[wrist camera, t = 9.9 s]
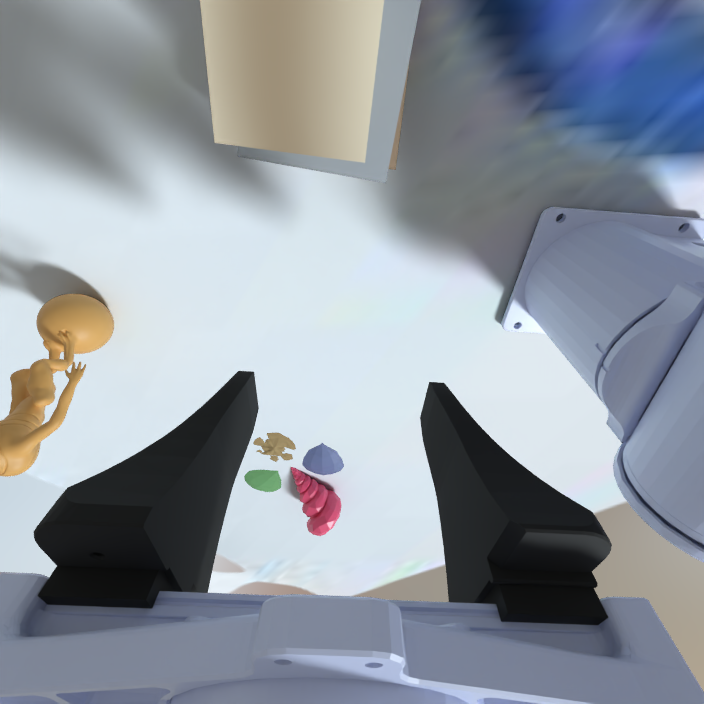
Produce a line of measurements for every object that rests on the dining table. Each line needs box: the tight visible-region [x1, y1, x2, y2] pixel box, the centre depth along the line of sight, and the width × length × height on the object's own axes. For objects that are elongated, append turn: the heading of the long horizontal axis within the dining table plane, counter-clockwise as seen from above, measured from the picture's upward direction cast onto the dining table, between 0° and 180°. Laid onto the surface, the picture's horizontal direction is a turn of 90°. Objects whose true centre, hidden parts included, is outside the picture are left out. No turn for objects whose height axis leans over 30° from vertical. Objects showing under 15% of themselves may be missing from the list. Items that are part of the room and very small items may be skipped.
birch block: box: [200, 0, 384, 163], centre depth 10 cm, size 4×4×5 cm
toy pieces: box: [244, 433, 344, 536], centre depth 33 cm, size 12×11×4 cm
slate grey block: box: [238, 0, 421, 183], centre depth 13 cm, size 6×6×3 cm
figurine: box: [0, 294, 114, 476], centre depth 20 cm, size 8×6×12 cm
